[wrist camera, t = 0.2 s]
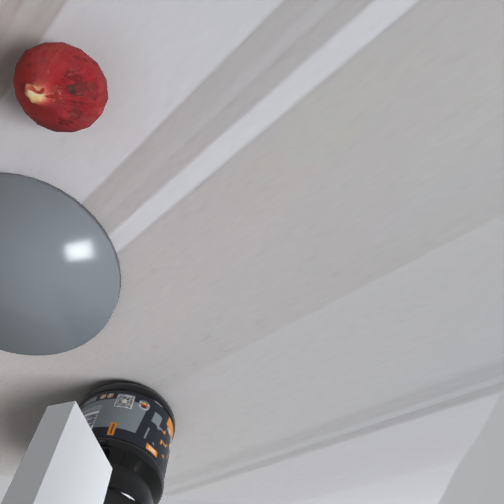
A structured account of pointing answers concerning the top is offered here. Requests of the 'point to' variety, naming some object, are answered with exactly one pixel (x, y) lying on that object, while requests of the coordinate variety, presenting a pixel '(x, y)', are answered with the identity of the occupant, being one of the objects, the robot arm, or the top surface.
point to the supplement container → (131, 439)
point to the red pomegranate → (60, 87)
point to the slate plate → (51, 269)
